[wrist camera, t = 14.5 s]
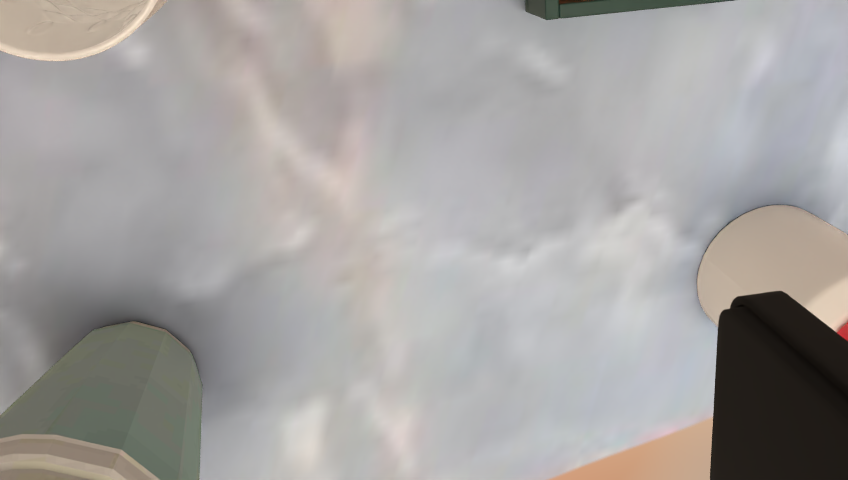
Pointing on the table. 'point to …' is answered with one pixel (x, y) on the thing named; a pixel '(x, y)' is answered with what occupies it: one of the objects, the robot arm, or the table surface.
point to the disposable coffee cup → (109, 412)
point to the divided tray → (599, 6)
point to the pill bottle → (778, 263)
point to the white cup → (69, 26)
